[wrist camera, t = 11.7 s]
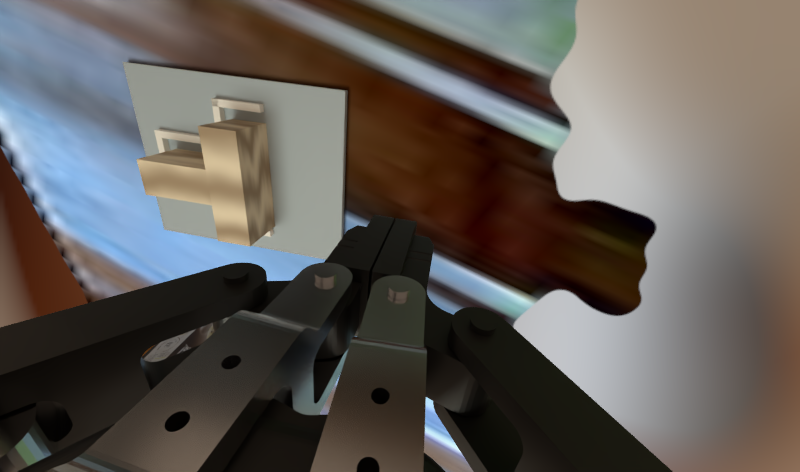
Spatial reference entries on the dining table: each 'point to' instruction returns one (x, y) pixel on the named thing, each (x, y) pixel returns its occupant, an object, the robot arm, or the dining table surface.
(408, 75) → the dining table surface
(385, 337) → the robot arm
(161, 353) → the coffee box
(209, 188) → the t block
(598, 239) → the dining table surface
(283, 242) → the board
